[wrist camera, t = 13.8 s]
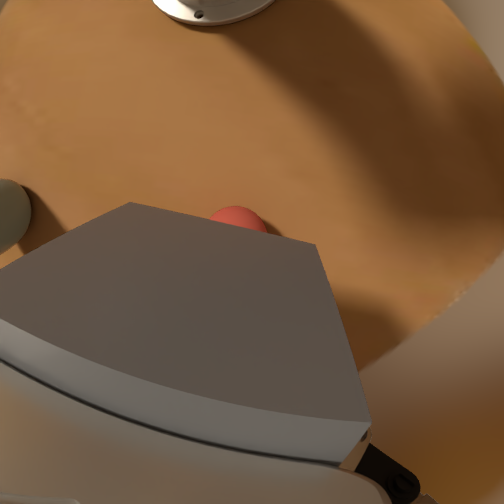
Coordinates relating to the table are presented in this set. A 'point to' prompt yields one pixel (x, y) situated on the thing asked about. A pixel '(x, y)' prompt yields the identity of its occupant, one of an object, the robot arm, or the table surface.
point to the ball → (239, 218)
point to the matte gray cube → (189, 332)
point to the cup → (13, 213)
